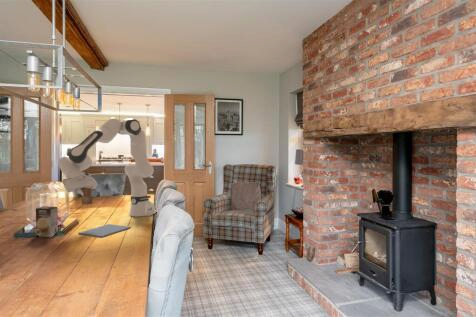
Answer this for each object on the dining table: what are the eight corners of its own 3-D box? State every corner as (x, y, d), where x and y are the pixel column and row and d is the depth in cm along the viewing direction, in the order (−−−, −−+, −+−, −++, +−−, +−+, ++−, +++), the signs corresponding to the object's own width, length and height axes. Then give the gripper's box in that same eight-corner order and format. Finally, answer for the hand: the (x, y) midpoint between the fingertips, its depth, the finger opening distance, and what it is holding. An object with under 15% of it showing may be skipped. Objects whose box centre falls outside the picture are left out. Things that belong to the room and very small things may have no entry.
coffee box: (35, 237, 170) (34, 208, 169) (43, 233, 176) (43, 206, 176) (50, 237, 169) (50, 208, 168) (58, 234, 175) (58, 206, 175)
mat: (108, 225, 195) (108, 224, 195) (130, 228, 188) (130, 226, 188) (78, 234, 175) (78, 232, 175) (101, 237, 168) (101, 236, 168)
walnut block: (87, 203, 190) (87, 187, 190) (92, 203, 188) (91, 187, 188) (81, 204, 186) (81, 187, 186) (86, 204, 185) (86, 188, 184)
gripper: (63, 175, 180) (75, 193, 176) (92, 173, 199) (103, 188, 195) (58, 183, 182) (69, 200, 178) (87, 179, 201) (98, 195, 197)
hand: (87, 194), depth 187 cm, fingers closed on walnut block, 4 cm apart
